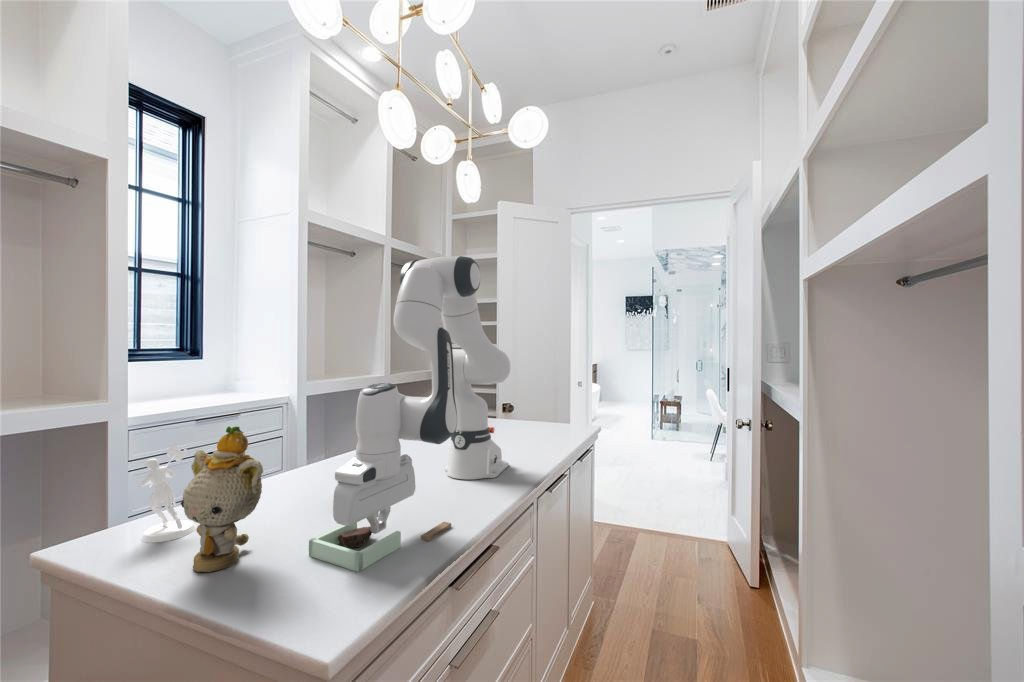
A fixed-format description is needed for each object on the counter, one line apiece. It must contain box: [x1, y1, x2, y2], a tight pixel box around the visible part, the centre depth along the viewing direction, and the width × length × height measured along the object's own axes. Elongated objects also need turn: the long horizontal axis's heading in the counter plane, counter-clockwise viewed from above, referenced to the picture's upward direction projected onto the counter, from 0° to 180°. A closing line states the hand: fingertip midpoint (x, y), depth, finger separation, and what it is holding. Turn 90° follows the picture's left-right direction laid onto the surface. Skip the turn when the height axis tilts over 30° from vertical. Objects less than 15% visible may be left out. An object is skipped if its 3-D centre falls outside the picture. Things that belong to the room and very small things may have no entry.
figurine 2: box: [180, 426, 264, 573], centre depth 81 cm, size 11×18×25 cm, turn 61°
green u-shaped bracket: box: [308, 522, 402, 573], centre depth 86 cm, size 11×13×3 cm
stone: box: [338, 526, 373, 549], centre depth 89 cm, size 7×7×3 cm
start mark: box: [420, 521, 452, 542], centre depth 94 cm, size 8×2×1 cm, turn 153°
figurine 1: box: [137, 443, 197, 544], centre depth 94 cm, size 10×10×18 cm
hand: (378, 530), depth 90 cm, fingers closed
